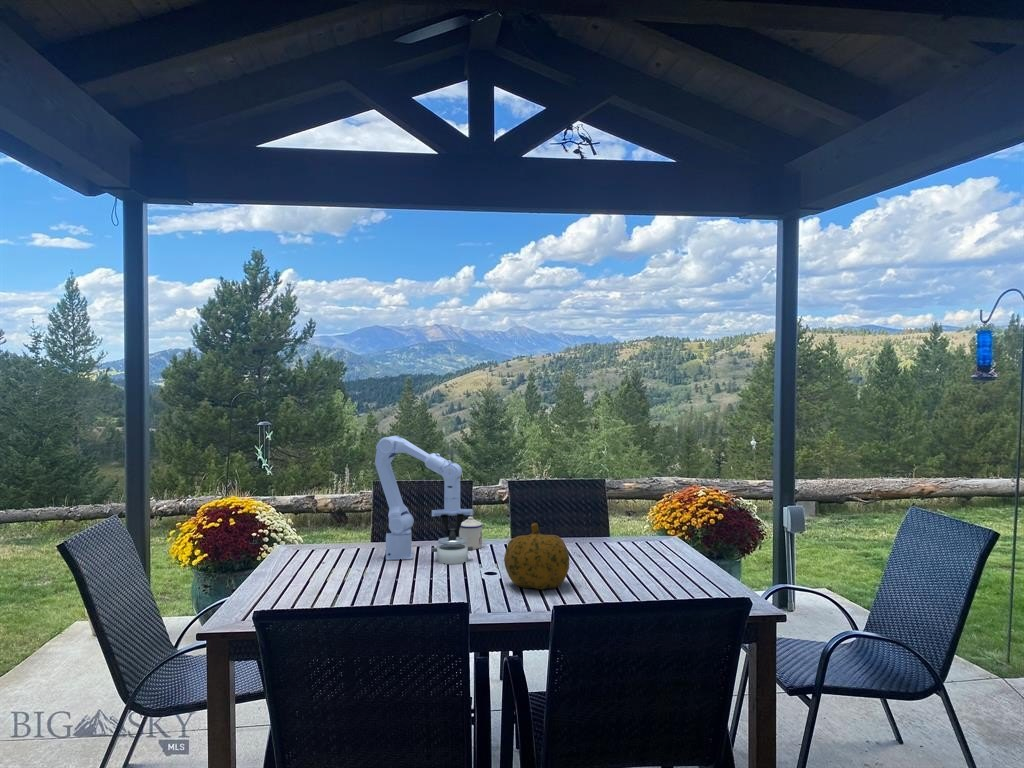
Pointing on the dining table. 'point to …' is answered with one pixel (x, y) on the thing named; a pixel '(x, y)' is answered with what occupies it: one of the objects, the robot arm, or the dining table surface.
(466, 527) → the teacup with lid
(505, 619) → the dining table surface
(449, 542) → the lid
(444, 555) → the pot
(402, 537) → the robot arm
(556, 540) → the decorative pumpkin
